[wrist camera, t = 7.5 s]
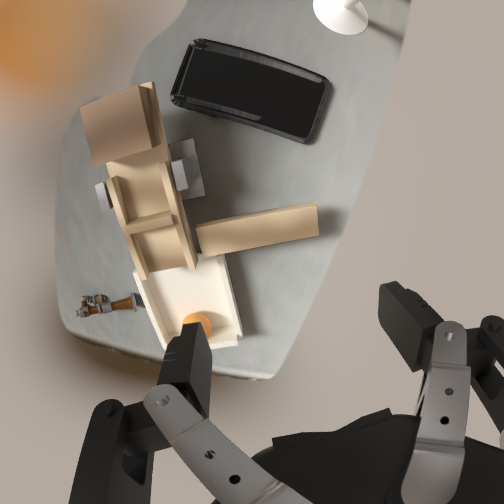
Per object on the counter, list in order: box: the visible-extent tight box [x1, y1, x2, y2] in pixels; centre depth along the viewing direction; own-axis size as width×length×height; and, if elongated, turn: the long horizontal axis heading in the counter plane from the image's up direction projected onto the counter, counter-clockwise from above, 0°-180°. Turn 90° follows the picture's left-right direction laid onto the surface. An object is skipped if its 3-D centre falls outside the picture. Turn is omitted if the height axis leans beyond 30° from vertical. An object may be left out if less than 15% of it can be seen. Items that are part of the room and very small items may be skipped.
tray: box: [133, 253, 243, 351], centre depth 32 cm, size 11×10×4 cm
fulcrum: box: [95, 138, 206, 211], centre depth 25 cm, size 6×9×7 cm, turn 100°
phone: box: [170, 39, 331, 143], centre depth 25 cm, size 8×1×15 cm
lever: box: [80, 82, 319, 280], centre depth 22 cm, size 17×17×4 cm
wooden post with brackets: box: [75, 293, 138, 318], centre depth 32 cm, size 2×8×4 cm, turn 89°
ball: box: [182, 313, 211, 338], centre depth 32 cm, size 4×4×4 cm
